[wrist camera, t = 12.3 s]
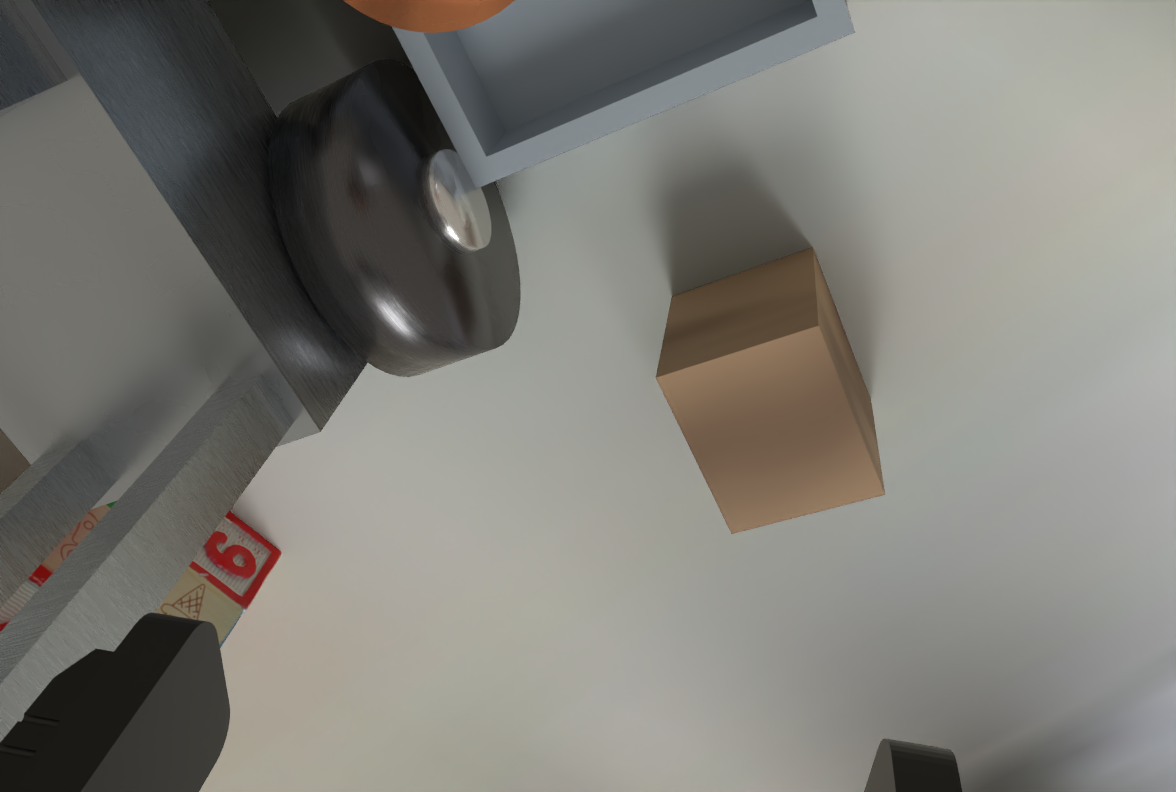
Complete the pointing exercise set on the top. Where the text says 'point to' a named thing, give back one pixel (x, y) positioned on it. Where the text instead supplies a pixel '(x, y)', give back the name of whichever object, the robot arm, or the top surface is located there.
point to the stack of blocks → (204, 590)
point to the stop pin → (430, 13)
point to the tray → (598, 67)
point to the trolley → (199, 292)
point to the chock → (770, 394)
